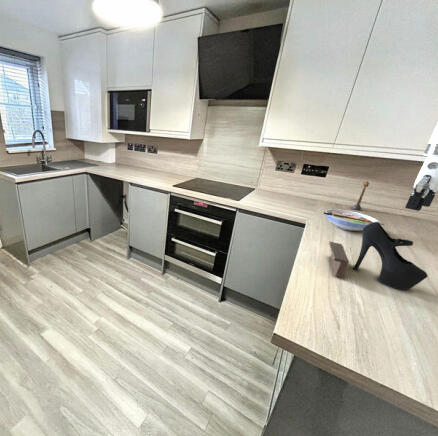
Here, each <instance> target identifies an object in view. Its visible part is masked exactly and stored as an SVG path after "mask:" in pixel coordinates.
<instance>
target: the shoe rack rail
mask: <svg viewBox="0 0 438 436" xmlns="http://www.w3.org/2000/svg"><path fill="white" fill-rule="evenodd" d="M328 246H329V250H330V252H331V254H330V256H329V259H330V263H331V267H332V270H333V273H334V277H336V278H340V279H343V277H344V274H345V272H346V270H347V269H348V265H349V263H350V260H349V259H348V258H349V257H348V256H347V253H346V251H345V249H344V246H343V244H342V243H339V242H333V241H329V242H328Z"/></svg>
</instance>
